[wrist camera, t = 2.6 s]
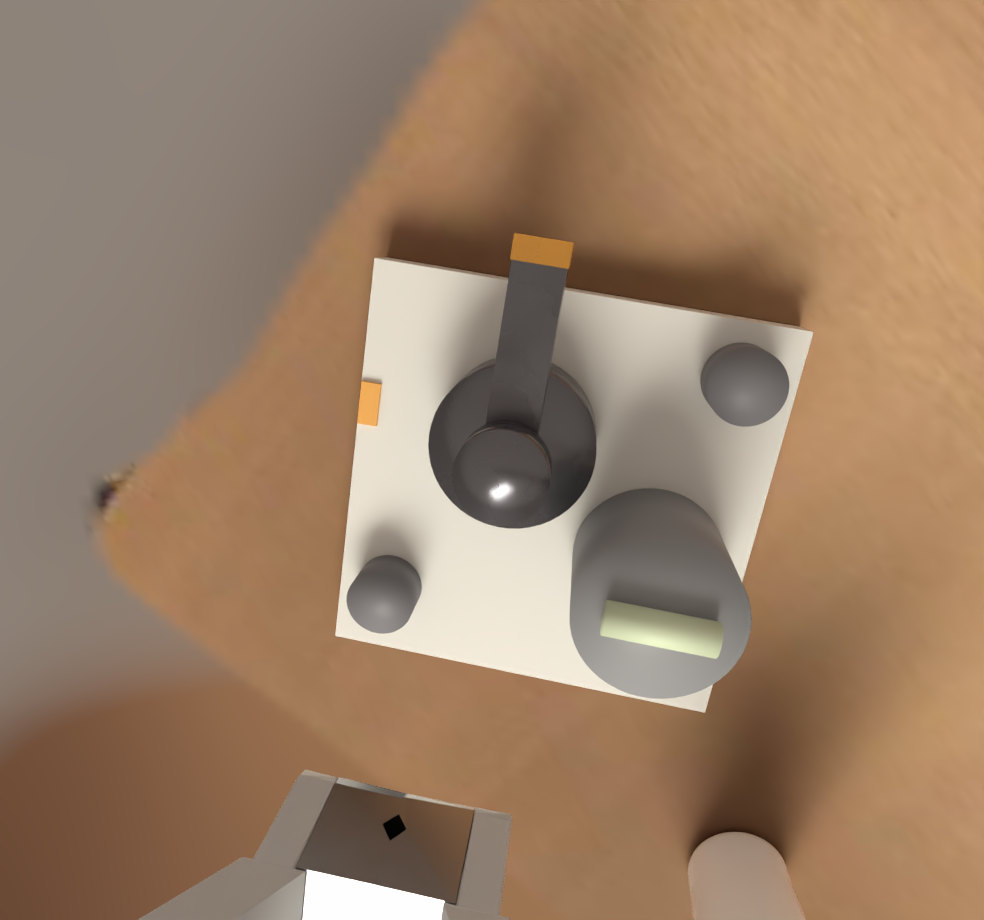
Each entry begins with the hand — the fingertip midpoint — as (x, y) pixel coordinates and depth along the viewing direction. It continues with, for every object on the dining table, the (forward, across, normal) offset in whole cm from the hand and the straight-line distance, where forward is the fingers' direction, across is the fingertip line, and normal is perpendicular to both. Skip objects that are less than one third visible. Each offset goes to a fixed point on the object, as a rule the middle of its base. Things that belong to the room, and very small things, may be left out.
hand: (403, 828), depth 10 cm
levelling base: (+26, -2, +4) cm, 27 cm away
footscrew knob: (+24, 0, -2) cm, 24 cm away
